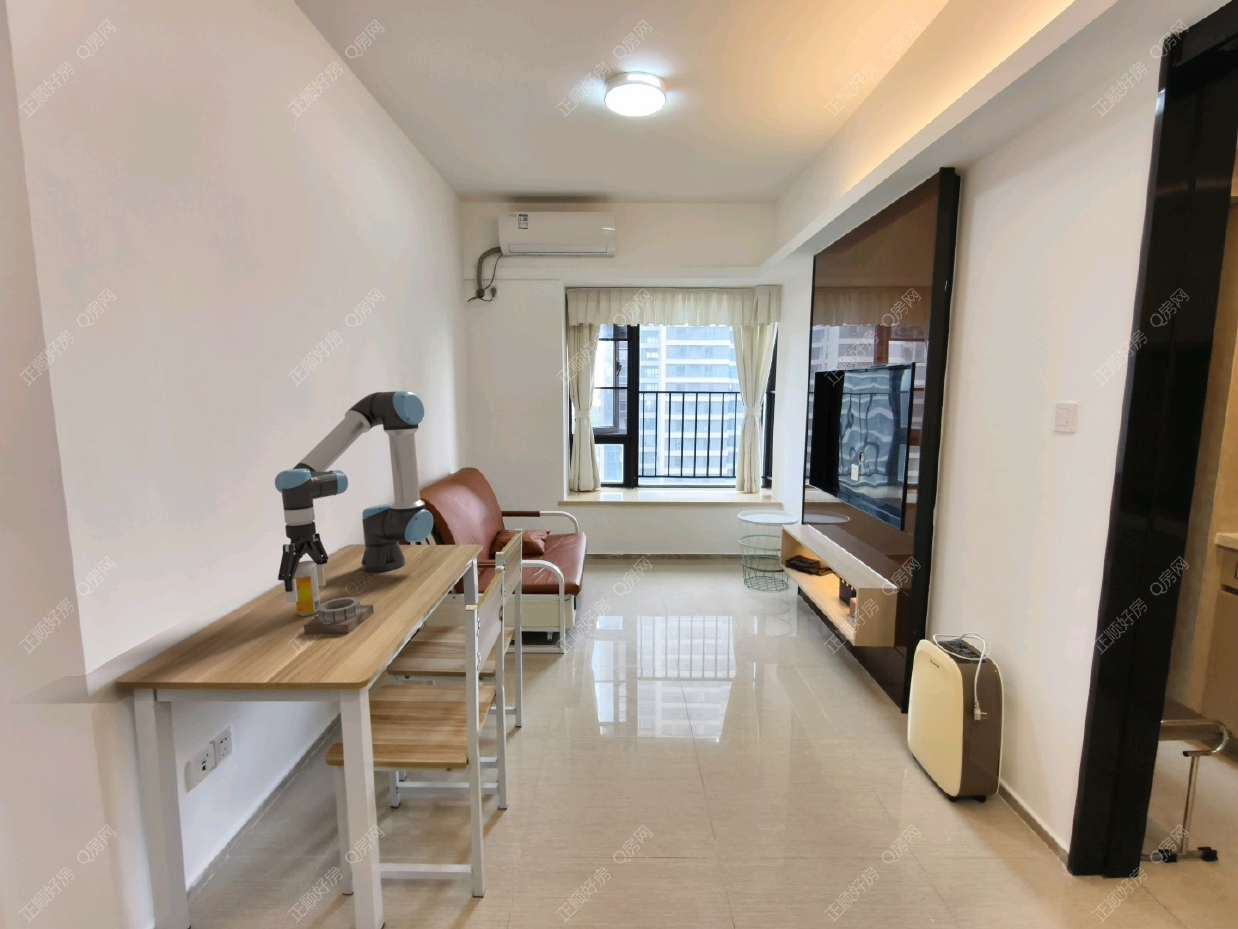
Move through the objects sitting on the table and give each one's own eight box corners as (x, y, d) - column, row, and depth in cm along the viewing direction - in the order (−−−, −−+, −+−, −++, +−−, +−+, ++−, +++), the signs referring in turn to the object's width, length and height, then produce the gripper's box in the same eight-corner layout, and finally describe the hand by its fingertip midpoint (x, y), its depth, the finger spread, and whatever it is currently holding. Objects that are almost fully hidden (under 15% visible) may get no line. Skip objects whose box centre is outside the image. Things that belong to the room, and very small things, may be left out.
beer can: (305, 608, 165) (300, 560, 164) (325, 608, 165) (320, 560, 163) (292, 616, 159) (287, 566, 158) (313, 616, 159) (308, 566, 157)
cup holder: (333, 613, 161) (332, 595, 160) (373, 613, 160) (372, 594, 160) (304, 634, 147) (302, 614, 146) (348, 633, 146) (346, 613, 146)
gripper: (313, 513, 172) (319, 579, 174) (257, 533, 147) (265, 609, 149) (336, 513, 171) (342, 579, 174) (284, 532, 146) (292, 609, 149)
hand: (307, 593), depth 162 cm, fingers open, 13 cm apart
